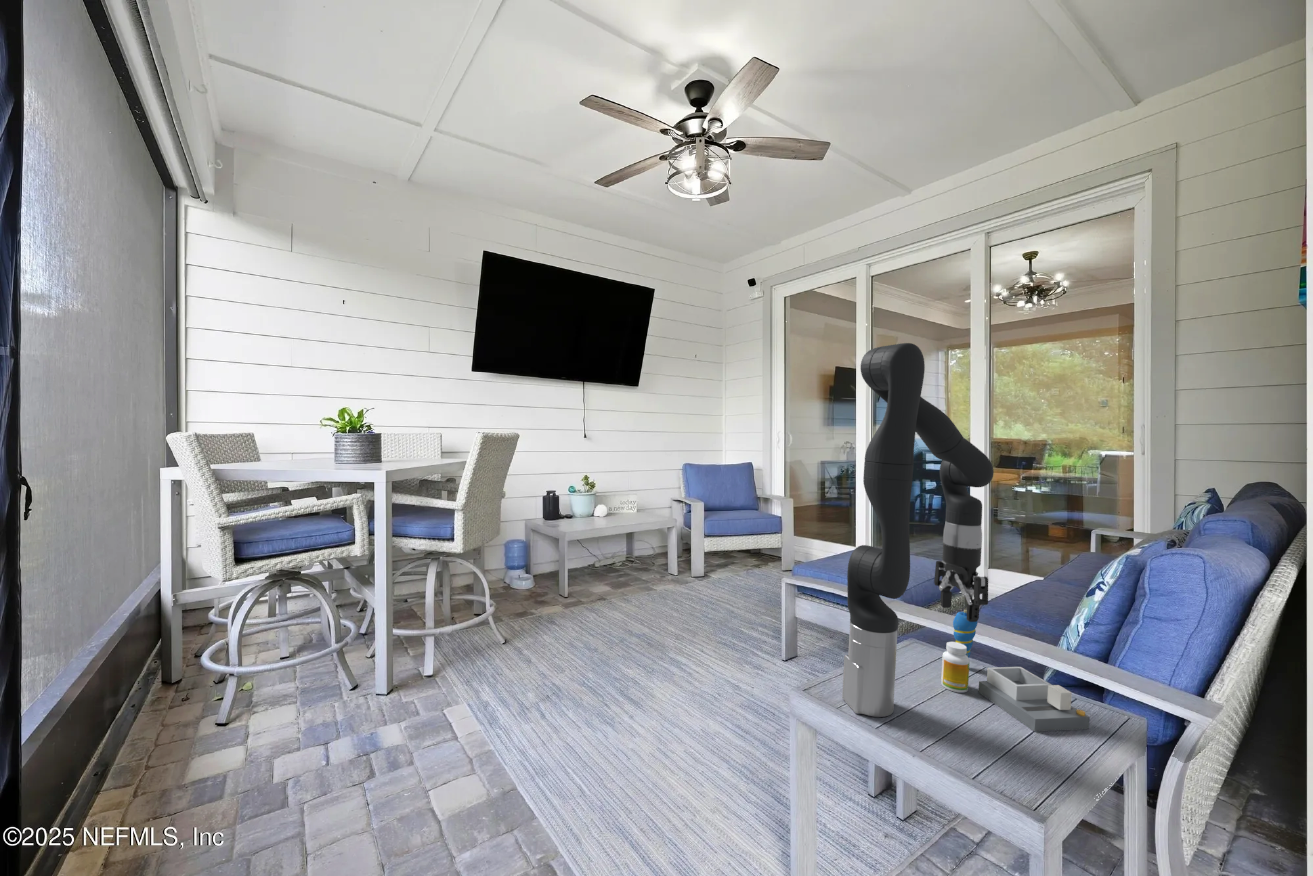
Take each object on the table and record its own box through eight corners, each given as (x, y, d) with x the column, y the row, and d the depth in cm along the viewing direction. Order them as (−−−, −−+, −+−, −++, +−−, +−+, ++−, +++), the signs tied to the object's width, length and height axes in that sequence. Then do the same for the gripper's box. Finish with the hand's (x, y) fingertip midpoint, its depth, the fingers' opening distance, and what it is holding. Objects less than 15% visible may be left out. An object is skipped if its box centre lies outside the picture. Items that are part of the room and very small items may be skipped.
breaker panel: (1034, 731, 104) (1036, 704, 104) (978, 692, 119) (979, 668, 119) (1088, 728, 106) (1090, 701, 106) (1026, 690, 121) (1028, 666, 120)
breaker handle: (1059, 710, 107) (1061, 693, 107) (1047, 702, 110) (1048, 685, 110) (1070, 709, 107) (1071, 692, 107) (1057, 701, 110) (1058, 685, 110)
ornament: (968, 663, 133) (972, 604, 133) (979, 673, 128) (982, 611, 128) (947, 661, 134) (950, 603, 133) (956, 671, 129) (959, 610, 128)
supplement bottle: (971, 694, 118) (974, 651, 117) (945, 691, 119) (947, 648, 118) (963, 683, 123) (965, 641, 123) (937, 680, 124) (939, 639, 124)
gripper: (1001, 551, 113) (997, 626, 114) (955, 535, 127) (952, 602, 128) (969, 551, 112) (965, 627, 113) (926, 535, 126) (923, 603, 127)
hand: (958, 614), depth 120 cm, fingers open, 8 cm apart
